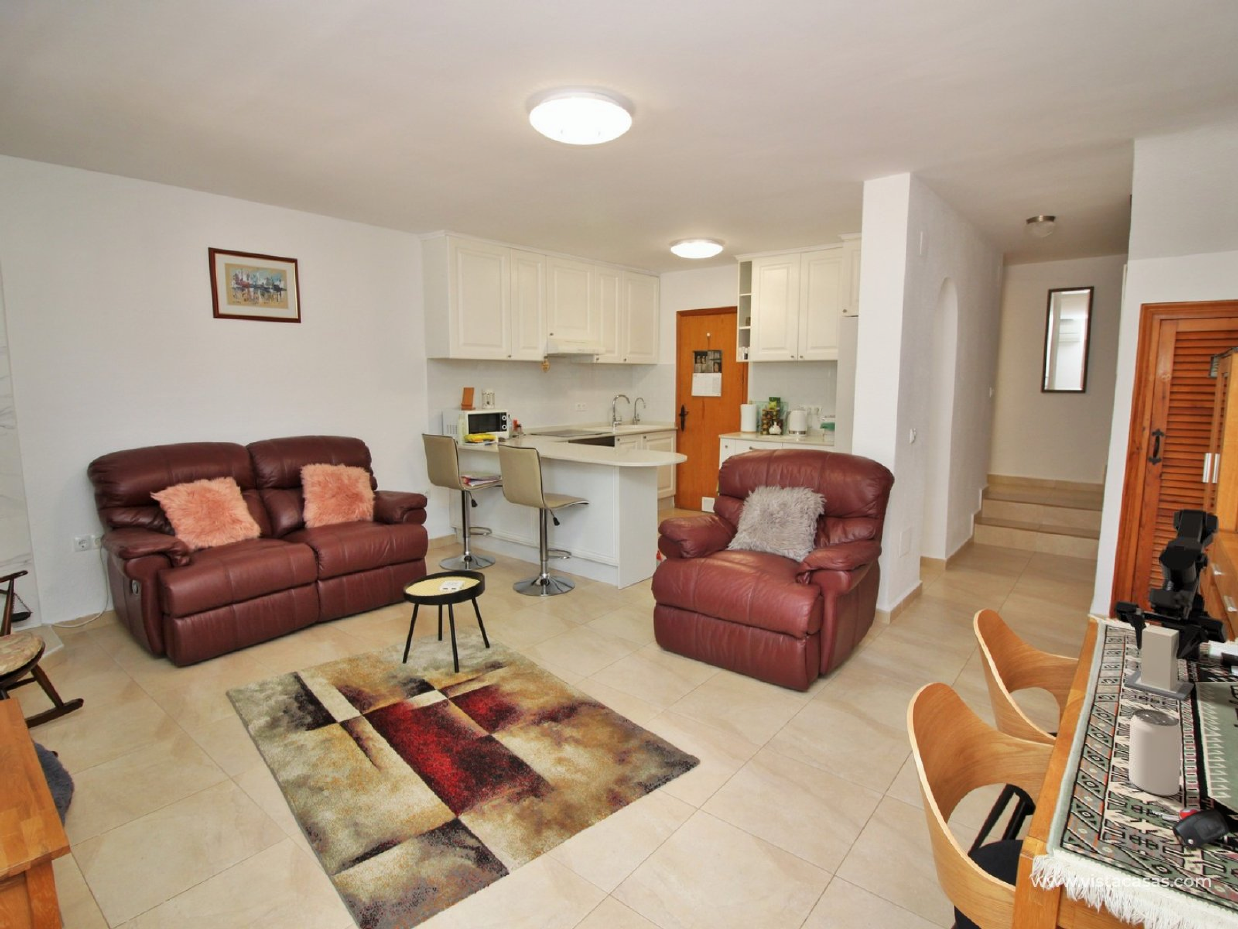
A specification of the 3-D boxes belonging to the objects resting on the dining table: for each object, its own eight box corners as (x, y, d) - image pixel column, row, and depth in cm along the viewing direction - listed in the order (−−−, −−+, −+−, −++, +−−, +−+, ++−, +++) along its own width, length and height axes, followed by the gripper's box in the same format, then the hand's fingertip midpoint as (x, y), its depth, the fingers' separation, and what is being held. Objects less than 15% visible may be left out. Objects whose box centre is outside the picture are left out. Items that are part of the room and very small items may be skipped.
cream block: (1148, 676, 143) (1150, 624, 142) (1177, 683, 139) (1179, 630, 138) (1140, 682, 140) (1142, 630, 139) (1169, 690, 136) (1171, 636, 135)
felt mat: (1136, 672, 147) (1136, 669, 147) (1193, 686, 139) (1193, 683, 139) (1124, 686, 141) (1124, 683, 141) (1183, 701, 133) (1183, 698, 133)
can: (1159, 774, 109) (1162, 707, 107) (1189, 798, 102) (1192, 727, 101) (1119, 774, 109) (1121, 707, 108) (1146, 797, 103) (1148, 726, 102)
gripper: (1117, 566, 147) (1096, 623, 142) (1225, 583, 132) (1207, 647, 127) (1129, 592, 153) (1110, 648, 147) (1235, 611, 137) (1217, 674, 132)
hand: (1157, 653), depth 138 cm, fingers open, 6 cm apart
